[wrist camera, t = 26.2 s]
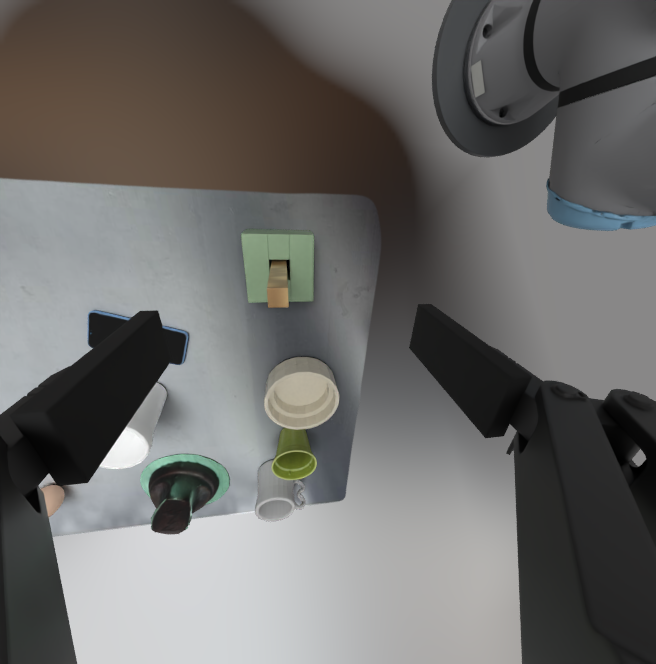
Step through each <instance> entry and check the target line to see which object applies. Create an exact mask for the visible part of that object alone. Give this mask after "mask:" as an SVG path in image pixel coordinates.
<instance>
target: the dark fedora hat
mask: <svg viewBox="0 0 656 664" xmlns="http://www.w3.org/2000/svg"><path fill="white" fill-rule="evenodd" d="M140 483H141V486H142V488H143V490H144V491H145V493H146V494H147V495H148V496H149V497H150V498H151V500H152V502H153V504H154V505H155V507H156V510H155V512H154V514H153V516H152V517H151V529H152V530H153V531H155V532H158V533H163V534H179V533H180V532H182V531H184V530H186V529H187V528H188V527H187V526H188V525H189V523H190V521H191V518H192V513H194V512H195V511H197V510H199V509H200V508H202V507H203V506H204V505H206V504H210V503H212V502H214V501H216V500H218V499H219V498H221V497H222V496H223V495H224V493H225V492H226V491H227V489H228V487H229V476H228V473H227V471H226V470H225V468H224V467H223V466H222V465H220V464H218V463H217V462H215V461H213V460H211V459H209V458H204V457H201V456H199V455H188V454H180V455H173V456H168V457H164V458H160V459H158V460H156V461H154V462H152V463H151V464H149V465H148V466H147V467H146V468H145V469H144V471H143V472H142V474H141V479H140Z"/></svg>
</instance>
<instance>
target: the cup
mask: <svg viewBox="0 0 656 664" xmlns="http://www.w3.org/2000/svg"><path fill="white" fill-rule="evenodd" d="M166 398H167V392H166V390H165V388H164V387H163V386H162V385H161V384H159V383H157V382H156V384H155V385H154V387H153V388H152V390H151V391H150V392H149V394H148V395H147V397H146V398H145V400H144V401H143V403H142V404H141V406H140V407H139V409H138V410H137V411H136V413H135V414H134V416H133V417H132V419H131V420H130V422H129V423H128V425H127V426H126V428H125V429H124V431H123V432H122V433H121V435H120V436H119V438H118V439H117V441H116V442H115V444H114V445H113V447H112V448H111V450H110V451H109V452H108V454H107V455H106V457H105V458H104V460H103V461H102V463H101V464H100V467H103V468H110V469H122V468H129V467H133V466H135V465H137V464H139V463H141V462H143V461H144V459H145V458H146V457H147V456H148V455H149V452H150V449H151V447H152V441H153V434H154V431H155V428H156V425H157V422H158V420H159V417H160V414H161V411H162V408H163V405H164V402H165V400H166Z"/></svg>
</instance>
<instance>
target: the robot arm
mask: <svg viewBox="0 0 656 664" xmlns="http://www.w3.org/2000/svg"><path fill="white" fill-rule="evenodd" d="M463 84H464V91H465V95H466V99H467V101H468V104H469V106H470V108H471V110H472V111H473V113H474V114H475V115H476V116H477V117H478V118H479V119H480V120H481V121H483V122H484V123H486V124H488V125H492V126H507V125H511V124H514V123H517V122H520V121H522V120H524V119H526V118H528V117H530V116H532V115H533V114H534V113H536V112H537V111H539V110H540V109H541V108H542V107H544V106H545V105H546V104H547V103H549V102H550V101H551V100H552V99H554V98H555V97H556V96H557V95H559V100H558V107H557V115H556V124H555V133H554V142H553V151H552V160H551V168H550V169H551V170H550V177H549V179H548V180H547V185H546V187H547V190H548V200H547V211H548V213H549V214H550V216H551V217H552V219H553V220H555V221H556V222H558V223H560V224H563V225H566V226H569V227H574V228H579V229H587V230H601V231H602V230H603V231H613V230H617V229H620V228H624V229H639V228H646V227H651V226H655V225H656V0H490V1H489V2H488V3H487V4H486V6H485V7H484V8H483V10H482V11H481V13H480V15H479V16H478V18H477V20H476V22H475V24H474V26H473V29H472V31H471V34H470V37H469V39H468V43H467V46H466V51H465V56H464V63H463ZM615 88H616V89H615ZM612 89H613V90H612ZM609 90H610V91H609ZM606 91H607V92H606ZM603 92H604V93H603ZM600 93H601V94H600ZM597 94H598V95H597ZM594 95H595V96H594ZM591 96H592V97H591ZM588 97H589V98H588ZM585 98H586V99H585ZM582 99H583V100H582ZM579 100H580V101H579ZM576 101H577V102H576ZM573 102H574V103H573ZM570 103H571V104H570ZM409 348H410V349H411V350H412V352H413V353H414V354H415V355H416V356H417V358H418V359H419V360H420V361H421V362H422V363H423V365H424V366H425V367H426V368H427V369H428V371H429V372H430V373H431V374H432V375H433V376H434V378H435V379H436V380H437V381H438V382H439V384H440V385H441V386H442V387H443V388H444V390H446V392H447V393H448V394H449V395H450V397H451V398H452V399H453V400H454V401H455V403H456V404H457V405H458V406H459V407H460V408H461V410H462V411H463V412H464V413H465V414H466V416H467V417H468V418H469V419H470V420H471V422H472V423H473V424H474V425H475V426H476V427H477V429H478V430H479V431H480V432H481V433H482V435H483V436H484V437H485V438H491V437H500V436H504V434H505V432H506V430H507V428H508V426H509V424H511V425H512V426H513V427H514V428H515V429H516V430H517V432H516V435H515V436H514V439H513V440H512V442H511V444H510V446H509V448H508V450H507V454H509V455H510V453H511V452H512V451H513V450H514V463H515V487H516V488H515V489H516V515H517V541H518V568H519V593H520V619H521V646H522V664H656V401H653V400H652V399H649V398H648V397H647V396H645V395H642V394H639V393H637V392H631V391H627V390H621V389H614V390H611V391H610V393H609V394H608V396H607V397H606V399H605V400H598V399H591V398H588V396H587V395H586V394H584V393H583V392H582V391H580V390H578V389H576V388H574V387H572V386H570V385H567V384H564V383H562V382H557V381H544V382H543V381H542V380H540V379H539V378H537V377H536V376H535V375H533V374H532V373H530V372H529V371H528V370H526V369H525V368H523V367H522V366H521V365H519V364H517V363H516V362H515V361H513V360H512V359H511V358H508V356H506V355H505V354H504V353H502V352H501V351H499V350H498V349H495V348H493V347H491V346H488V345H487V344H486V343H485V342H483V341H482V340H480V339H479V338H478V337H476V336H475V335H474V334H472V333H471V332H469V331H468V330H467V329H465V328H464V327H462V326H461V325H460V324H458V323H457V322H455V321H454V320H453V319H451V318H450V317H448V316H447V315H446V314H444V313H443V312H441V311H440V310H439V309H437V308H436V307H434V306H433V305H431V304H419V305H418V308H417V313H416V318H415V323H414V328H413V332H412V338H411V342H410V347H409ZM171 360H172V359H171V356H170V352H169V348H168V345H167V341H166V338H165V334H164V331H163V327H162V323H161V320H160V316H159V313H158V311H139V312H138V313H137V314H136V315H134V316H133V317H132V318H131V319H129V320H128V321H127V322H126V323H124V324H123V325H122V326H121V327H119V328H118V329H117V330H116V331H114V332H113V333H112V334H111V335H109V336H108V337H107V338H106V339H104V340H103V341H102V342H101V343H99V344H98V345H97V346H96V347H94V348H93V349H92V350H91V351H89V352H88V353H87V354H85V355H84V356H83V357H82V358H80V359H79V360H78V361H77V362H75V363H74V364H73V365H72V366H69V367H67V368H65V369H63V370H61V371H59V372H57V373H55V374H53V375H51V376H50V377H49V378H47V379H46V380H45V381H44V382H42V383H41V384H40V385H38V387H37V388H34V389H33V390H32V391H31V392H29V393H28V394H27V396H24V397H23V398H21V399H20V400H19V401H18V402H16V403H15V404H14V405H12V406H11V407H10V408H8V409H7V410H6V411H5V412H3V413H2V414H1V415H0V664H77V661H76V656H75V650H74V645H73V641H72V635H71V630H70V625H69V620H68V615H67V609H66V605H65V599H64V594H63V589H62V584H61V579H60V574H59V569H58V563H57V558H56V553H55V548H54V543H53V538H52V533H51V528H50V523H49V518H48V512H47V507H46V502H45V497H44V493H43V492H42V490H41V489H40V488H39V486H38V485H39V484H40V483H41V482H42V480H43V479H44V478H45V477H46V476H47V475H48V473H49V474H50V475H51V476H52V478H53V479H54V481H55V482H56V484H57V485H58V486H63V485H72V484H81V483H88V482H89V480H90V479H91V477H92V476H93V474H94V473H95V472H96V470H97V469H98V467H99V466H100V464H101V463H102V461H103V460H104V458H105V457H106V455H107V454H108V452H109V451H110V450H111V448H112V447H113V445H114V444H115V442H116V441H117V439H118V438H119V436H120V435H121V433H122V432H123V431H124V429H125V428H126V426H127V425H128V423H129V422H130V420H131V419H132V417H133V416H134V414H135V413H136V411H137V410H138V409H139V407H140V406H141V404H142V403H143V401H144V400H145V398H146V397H147V395H148V394H149V392H150V391H151V390H152V388H153V387H154V385H155V384H156V382H157V381H158V379H159V378H160V376H161V375H162V373H163V372H164V370H165V369H166V368H167V366H168V365H169V363H170V362H171ZM640 449H641V450H642V451H643V452H644V454H645V456H646V460H645V461H644V463H643V464H642V465H641V466H639V467H638V466H637V465H635V463H634V462H633V461H632V458H633V457H634V456H635V454H636V453H637V452H638V451H639V450H640Z"/></svg>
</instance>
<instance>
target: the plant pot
mask: <svg viewBox="0 0 656 664" xmlns="http://www.w3.org/2000/svg"><path fill="white" fill-rule="evenodd" d="M316 465H317V461H316V458H315V456H314V455H313V453H312V452H311V449H310V445H309V441H308V437H307V433H306V430H305V429H300V430H295V429H288V428H283V429H282V431H281V433H280V438H279V443H278V448H277V453H276V456H275V459H274V460H273V462H272V466H271V468H272V472H273V473H274V475H276V476H277V477H279V478H281V479H284V480H298V479H302V478H305V477H307V476H308V475H310V474H311V473H312V472H313V471H314V470H315V468H316Z"/></svg>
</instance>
